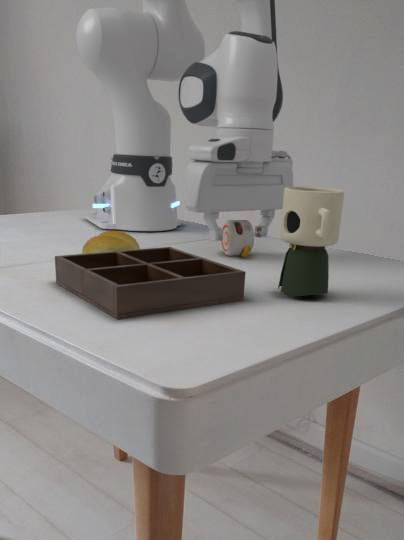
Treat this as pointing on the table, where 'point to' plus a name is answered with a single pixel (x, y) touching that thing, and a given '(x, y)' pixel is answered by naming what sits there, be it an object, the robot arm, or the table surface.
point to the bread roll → (110, 242)
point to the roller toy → (237, 238)
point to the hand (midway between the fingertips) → (238, 238)
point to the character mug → (309, 237)
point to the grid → (148, 280)
